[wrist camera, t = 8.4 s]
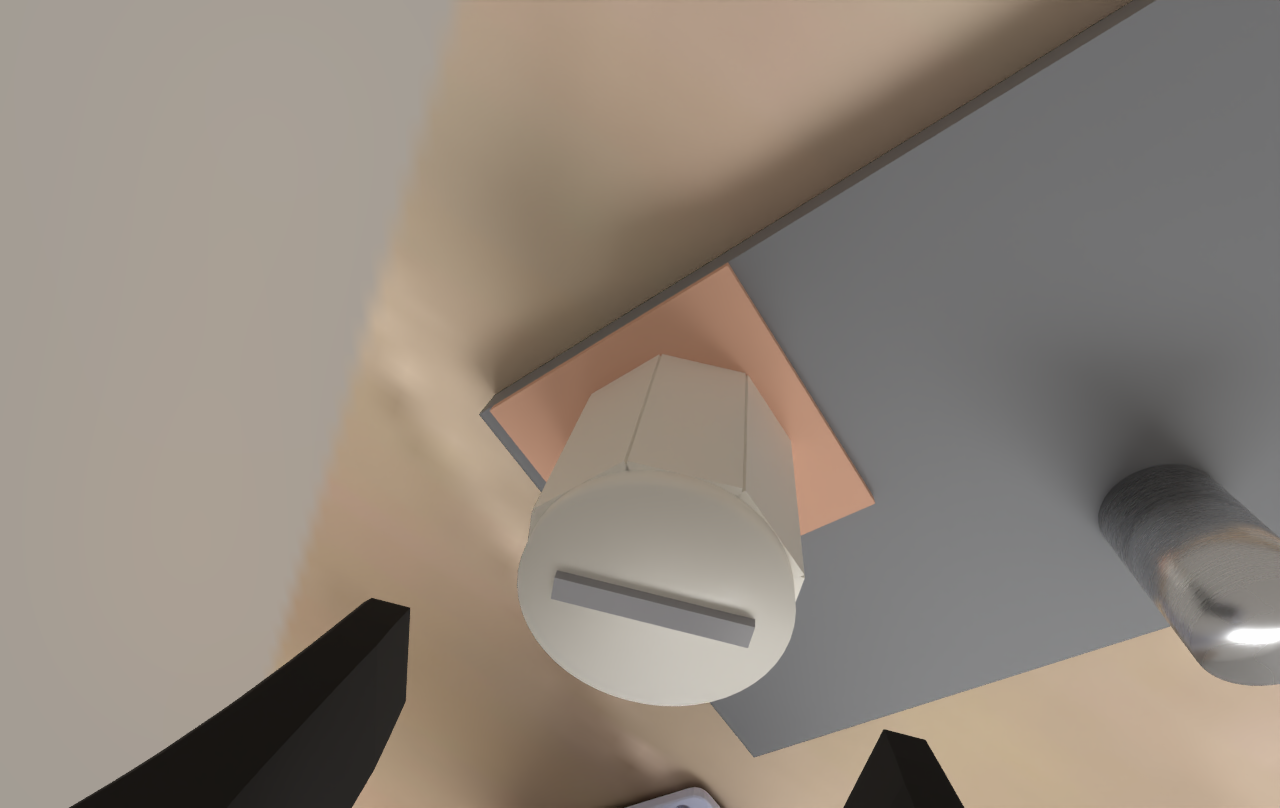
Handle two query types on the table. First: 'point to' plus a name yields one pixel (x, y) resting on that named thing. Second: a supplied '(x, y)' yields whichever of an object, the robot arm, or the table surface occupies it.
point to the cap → (667, 538)
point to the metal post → (1201, 567)
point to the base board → (1021, 357)
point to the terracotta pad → (707, 333)
